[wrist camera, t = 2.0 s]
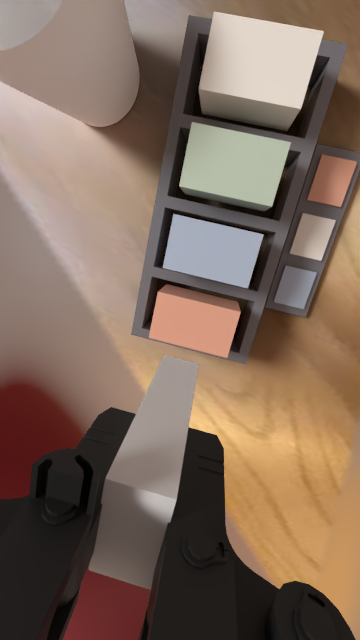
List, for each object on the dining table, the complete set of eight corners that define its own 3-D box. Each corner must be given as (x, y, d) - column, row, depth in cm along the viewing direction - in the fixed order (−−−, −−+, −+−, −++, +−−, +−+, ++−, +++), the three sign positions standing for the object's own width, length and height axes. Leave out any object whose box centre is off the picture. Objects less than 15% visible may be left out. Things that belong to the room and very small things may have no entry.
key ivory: (215, 51, 19) (214, 11, 16) (305, 68, 18) (323, 31, 15) (201, 114, 20) (198, 88, 17) (287, 131, 20) (300, 108, 16)
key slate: (180, 217, 22) (173, 213, 19) (256, 235, 22) (263, 234, 18) (170, 263, 23) (162, 268, 20) (243, 281, 23) (247, 288, 19)
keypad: (193, 50, 21) (188, 15, 18) (327, 75, 21) (348, 43, 17) (141, 323, 28) (131, 334, 24) (242, 348, 27) (245, 364, 24)
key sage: (196, 141, 20) (191, 121, 17) (279, 158, 20) (291, 142, 17) (185, 194, 21) (179, 186, 18) (263, 211, 21) (272, 206, 18)
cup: (169, 27, 21) (111, -222, 10) (137, 158, 24) (63, 83, 12) (56, -8, 21) (-129, -289, 10) (38, 125, 24) (-125, 23, 13)
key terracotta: (166, 284, 24) (157, 291, 20) (237, 301, 23) (240, 311, 20) (158, 324, 25) (148, 337, 21) (226, 341, 24) (227, 358, 21)
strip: (314, 146, 22) (318, 142, 21) (362, 156, 22) (367, 152, 21) (264, 305, 26) (265, 308, 25) (303, 315, 26) (306, 318, 25)
